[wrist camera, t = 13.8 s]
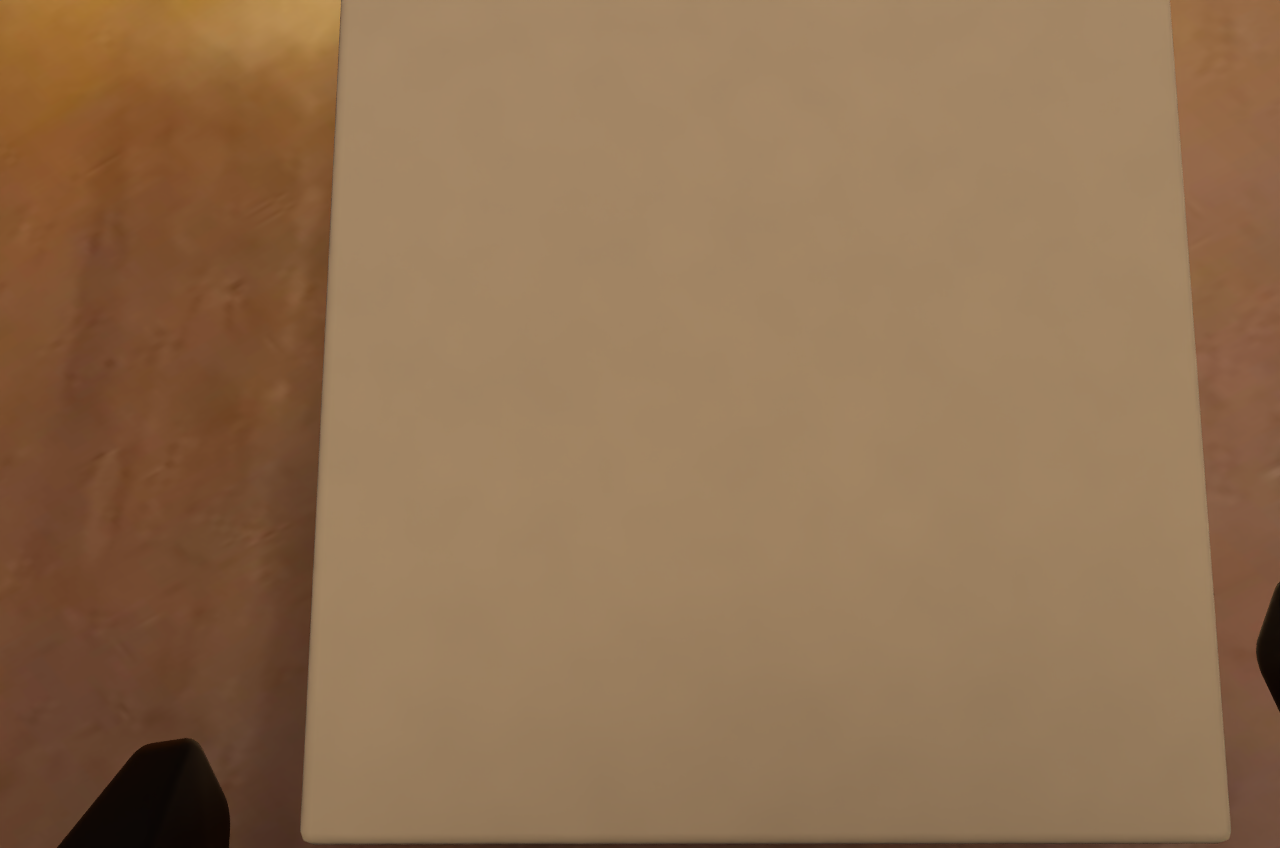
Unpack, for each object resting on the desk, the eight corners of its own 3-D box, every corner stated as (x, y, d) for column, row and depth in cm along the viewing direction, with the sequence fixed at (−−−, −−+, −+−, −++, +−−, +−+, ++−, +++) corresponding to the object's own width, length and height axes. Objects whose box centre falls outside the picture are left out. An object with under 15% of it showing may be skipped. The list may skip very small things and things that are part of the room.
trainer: (846, 707, 17) (1259, 884, 6) (486, 706, 17) (275, 886, 6) (829, 16, 19) (1130, -777, 8) (504, 9, 19) (363, -808, 8)
